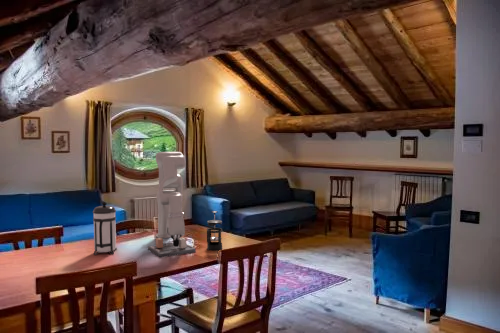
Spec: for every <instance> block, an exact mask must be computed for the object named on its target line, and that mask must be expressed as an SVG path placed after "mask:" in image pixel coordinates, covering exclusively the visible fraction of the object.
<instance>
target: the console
mask: <svg viewBox="0 0 500 333" xmlns="http://www.w3.org/2000/svg"><path fill="white" fill-rule="evenodd" d="M147 251H148V252H150V253H152V254H153V255H155V256H156V257H158V258H159V259H160V258H167V257H174V256H180V255H185V254H192V253H196V252H197V250H196V248H195V247H193V246H192V245H191V244H187V243H186V248H180V247H179V245H178V247H175V246H174V245H173V242H172V243H167V244H165V243H163V247H162V248H157V247H156V245H151V246H147Z"/></svg>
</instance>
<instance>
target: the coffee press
mask: <svg viewBox="0 0 500 333" xmlns="http://www.w3.org/2000/svg"><path fill="white" fill-rule="evenodd" d="M101 204H102V205H99V206H96V207H94V209H93V211H92V213H93V219H92V220H93V243H94V244H93V245H94V246H93V247H94V251H93V255H95V256H98V254H99V253H109V254H110V255H111V256H112V255H114V254H115V252H114V251H117V250H118V249H117V238H116V236H117V234H116V232H117V231H116V228H117V227H116V226H117V225H116V220H117V217H116V211H117V209H116V208H115V207H114V206H112V205H107V202H106V201H103V202H102V203H101Z"/></svg>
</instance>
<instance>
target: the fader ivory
mask: <svg viewBox="0 0 500 333" xmlns="http://www.w3.org/2000/svg"><path fill="white" fill-rule="evenodd" d="M186 244H187V238H184V237H180V239H179V247H180V248H186Z"/></svg>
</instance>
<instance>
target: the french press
mask: <svg viewBox="0 0 500 333" xmlns="http://www.w3.org/2000/svg"><path fill="white" fill-rule="evenodd" d="M211 213H212V214H213V216H214V218H213V219H212V220H211V219H210V220H207V226H209V227H208V228H206V243H207V246H206V247H207V248H206V250H207V251H210V252H215V251H216V252H217V251H221V250H220V249H222V250H223V243H222V239H223V237H222V232H223V229H222V228H221V227H216V225H222V223H223V221H222V220H219V219H216V213H218V211H216V210H212V211H211ZM212 234H214V236H212ZM216 234H217V236H216Z"/></svg>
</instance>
